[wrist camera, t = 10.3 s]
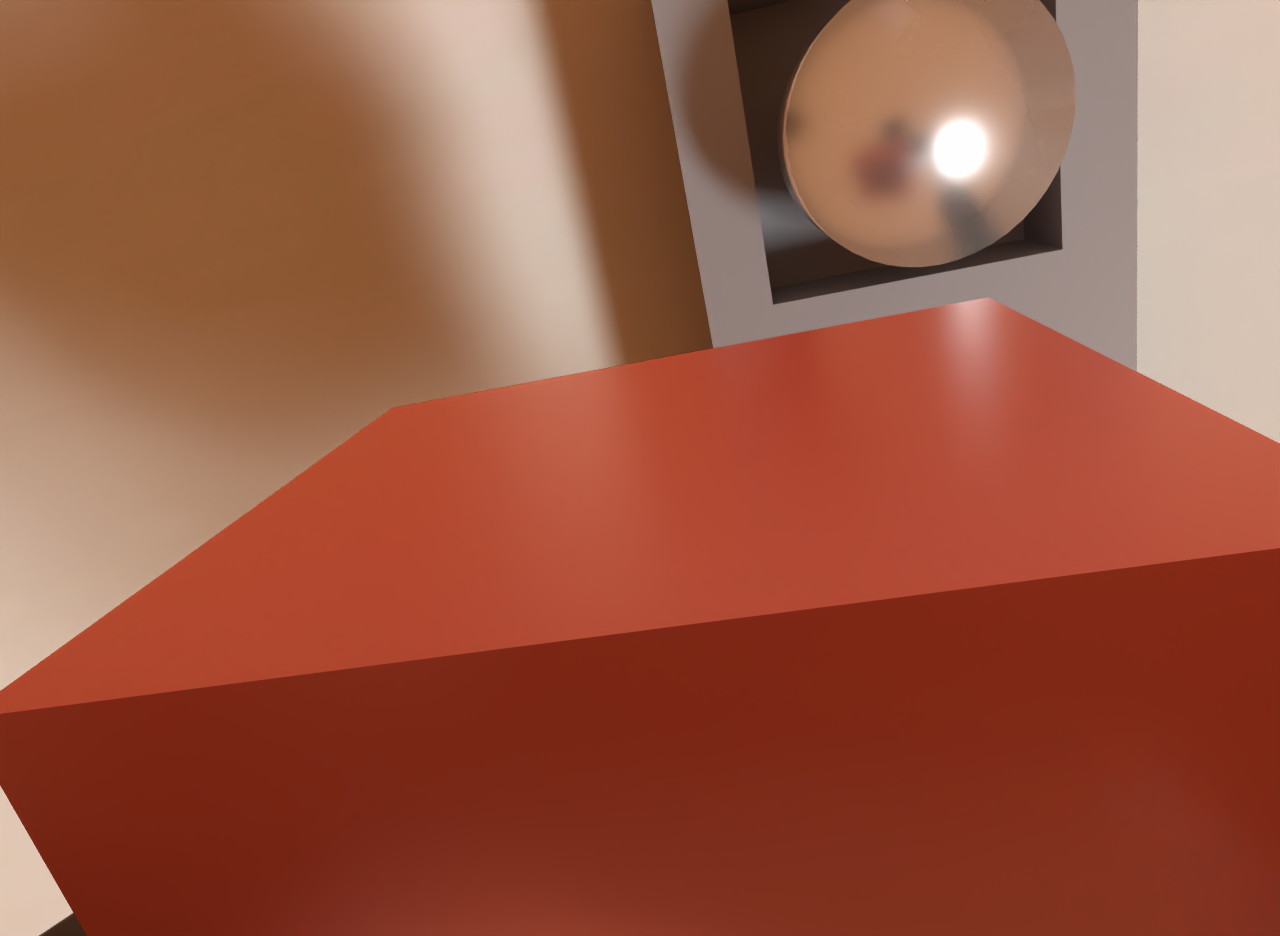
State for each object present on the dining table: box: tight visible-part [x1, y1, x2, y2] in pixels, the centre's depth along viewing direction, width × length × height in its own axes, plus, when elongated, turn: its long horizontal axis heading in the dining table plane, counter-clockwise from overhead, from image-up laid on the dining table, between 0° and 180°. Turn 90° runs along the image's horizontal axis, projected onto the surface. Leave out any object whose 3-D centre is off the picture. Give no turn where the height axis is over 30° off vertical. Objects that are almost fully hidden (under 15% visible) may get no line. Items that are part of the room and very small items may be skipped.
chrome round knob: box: [776, 0, 1076, 267], centre depth 14 cm, size 4×4×2 cm
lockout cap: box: [0, 297, 1280, 936], centre depth 8 cm, size 7×7×6 cm
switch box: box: [651, 0, 1138, 372], centre depth 17 cm, size 16×8×3 cm, turn 12°
